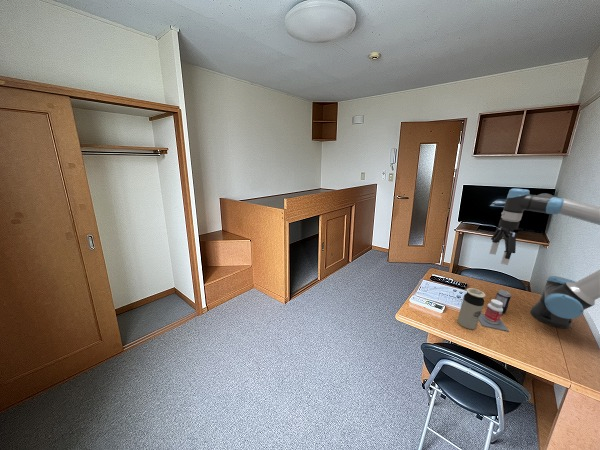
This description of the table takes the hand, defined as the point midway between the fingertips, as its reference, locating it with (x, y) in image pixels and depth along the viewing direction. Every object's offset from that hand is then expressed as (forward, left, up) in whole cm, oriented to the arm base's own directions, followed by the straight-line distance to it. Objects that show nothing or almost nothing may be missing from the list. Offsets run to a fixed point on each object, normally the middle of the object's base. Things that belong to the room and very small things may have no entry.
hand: (497, 258), depth 127 cm
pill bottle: (+2, +15, -28) cm, 32 cm away
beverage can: (-6, +3, -29) cm, 30 cm away
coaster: (+2, +15, -29) cm, 32 cm away
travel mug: (+14, +22, -29) cm, 39 cm away
